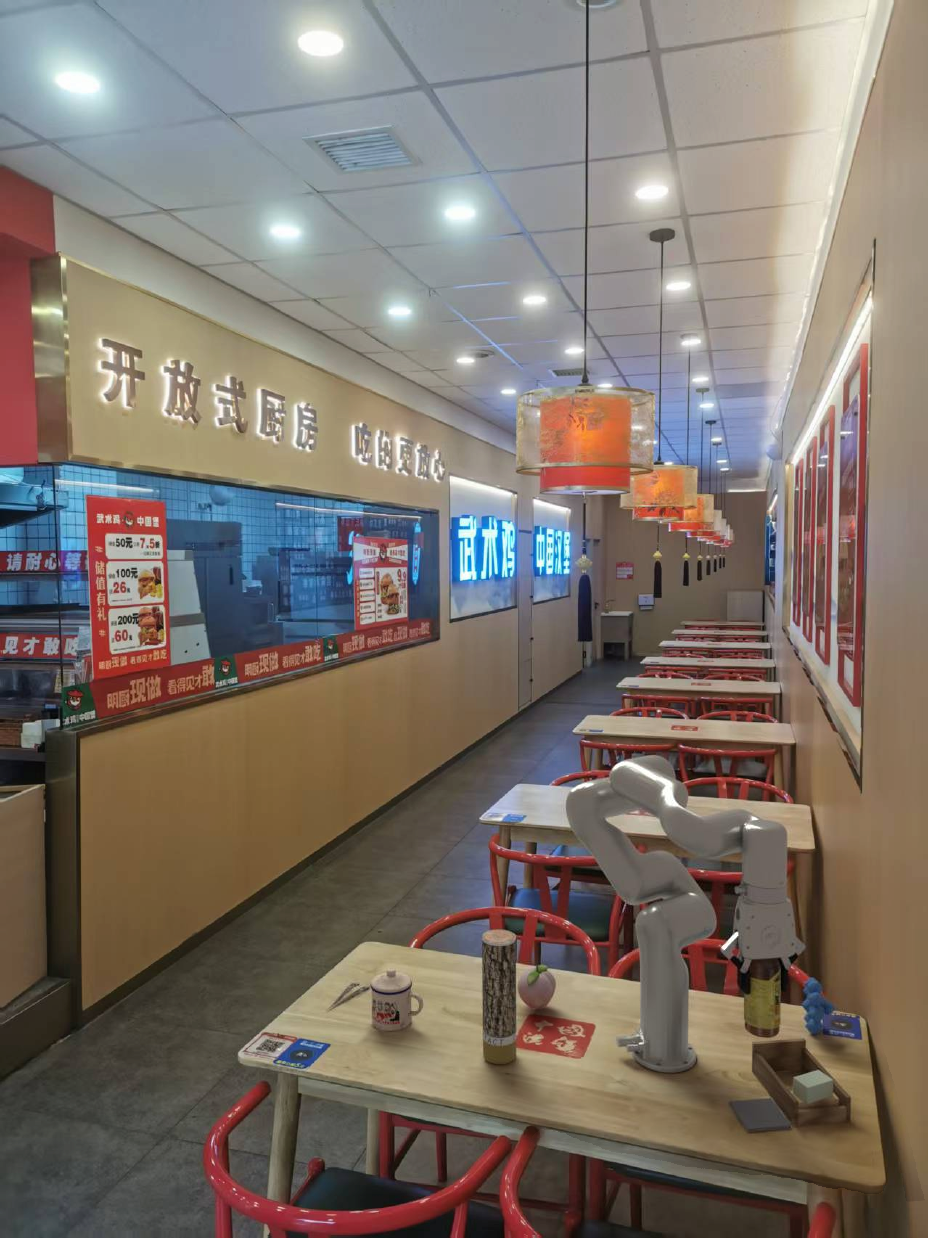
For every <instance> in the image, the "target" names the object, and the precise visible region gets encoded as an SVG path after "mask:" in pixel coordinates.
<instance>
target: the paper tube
mask: <svg viewBox="0 0 928 1238" xmlns="http://www.w3.org/2000/svg"><path fill="white" fill-rule="evenodd" d="M516 937H517V936H516V934H515V932H513V931H510V930H508V929H507V930H506V929H490V930H487V931H485V932H484V933H483V934H482V935H481V954H482V955H481V970H482V971H481V973H482V976H481V977H482V978H481V979H482V980H481V982H482V985H481V986H482V989H481V990H482V994H481V995H482V1055H483V1058H484V1059H485V1061H487V1062H489V1063H491V1064H494V1065H506V1064H509V1063H511V1062H513V1061H514V1060H515V1058H516V1057H517V938H516Z"/></svg>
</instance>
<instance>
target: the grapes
mask: <svg viewBox="0 0 928 1238" xmlns="http://www.w3.org/2000/svg"><path fill="white" fill-rule="evenodd" d="M804 986H805V988H804V989H803V990H802V992H803V993H804V995H805V996H806V998H805V1000H803V1002H802V1003H801V1006H802V1008H803V1009H804V1010H805V1011H806V1014H805V1016H803V1020H804V1021H805V1022H806V1024H805V1026H804V1027H805V1028H806V1030H807V1031H808V1032H809V1033H810V1034H812V1035H814V1036H815V1035H817V1034H818V1033H819V1032H821V1031H822V1030H823V1028H824V1027H825V1025H824V1024H823V1023H822V1020H823V1019H824V1018H825V1017H826V1015H827V1016H829V1015H831V1014H833V1013H834V1011H835V1010H836V1007H835V1006H834V1005H833V1002H831V1001H830V1000H828V999H825V998H824V996H823V994H822V993H821V992H822V991H823V990H824V987H822V985H821V983H820V982H819V980H817V979H816V978H814V977H810V978H808V979H807V980H806V982H805V983H804Z"/></svg>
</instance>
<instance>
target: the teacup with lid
mask: <svg viewBox="0 0 928 1238" xmlns="http://www.w3.org/2000/svg"><path fill="white" fill-rule="evenodd" d="M369 986H370V989H371V1022H372V1025H373V1026H374V1027H375V1028H376V1029H378V1030H380V1031H385V1032H396V1031H400V1030H403V1029H406V1027H407V1028H408V1026H409V1025H410V1024H411V1022H412V1018H413V1017H414V1016H415V1017H416V1016H417V1015H419V1014H420V1013H421V1012H422V1011H423V1008H424V1001H423V997H422V996H421V995H420V994H418V993H417V992H414V991H412V986H413V981H412V978H411V977H410V976H409V975H408V974H406V973H403V972H401V971H400V972H399V971H396V969H395V968H392V967H390V968H387V969H386V972H383V973H378V974H377V975H375V976H374V977H373V978H372V980H371V982H370V985H369ZM412 998H414V999H416V1000H417V1002H418V1008H417V1010H412Z"/></svg>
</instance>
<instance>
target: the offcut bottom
mask: <svg viewBox="0 0 928 1238" xmlns="http://www.w3.org/2000/svg"><path fill="white" fill-rule="evenodd" d="M790 1092H791V1093H792V1094H793V1090H790ZM793 1095H794V1094H793ZM794 1096H795V1098H796V1099H797V1100H798V1101H799V1104H798V1109H810V1108H822V1107H834V1106H839V1098H838V1097H837V1096H836V1095H835V1094H834V1093H833V1096H831V1097H828V1098H825V1099H822V1100H819V1101H816V1102H812V1103H809V1104H807V1103H805V1102H804V1101H802V1100H801V1099H800V1098H798V1097H797V1096H796V1095H794Z"/></svg>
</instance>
